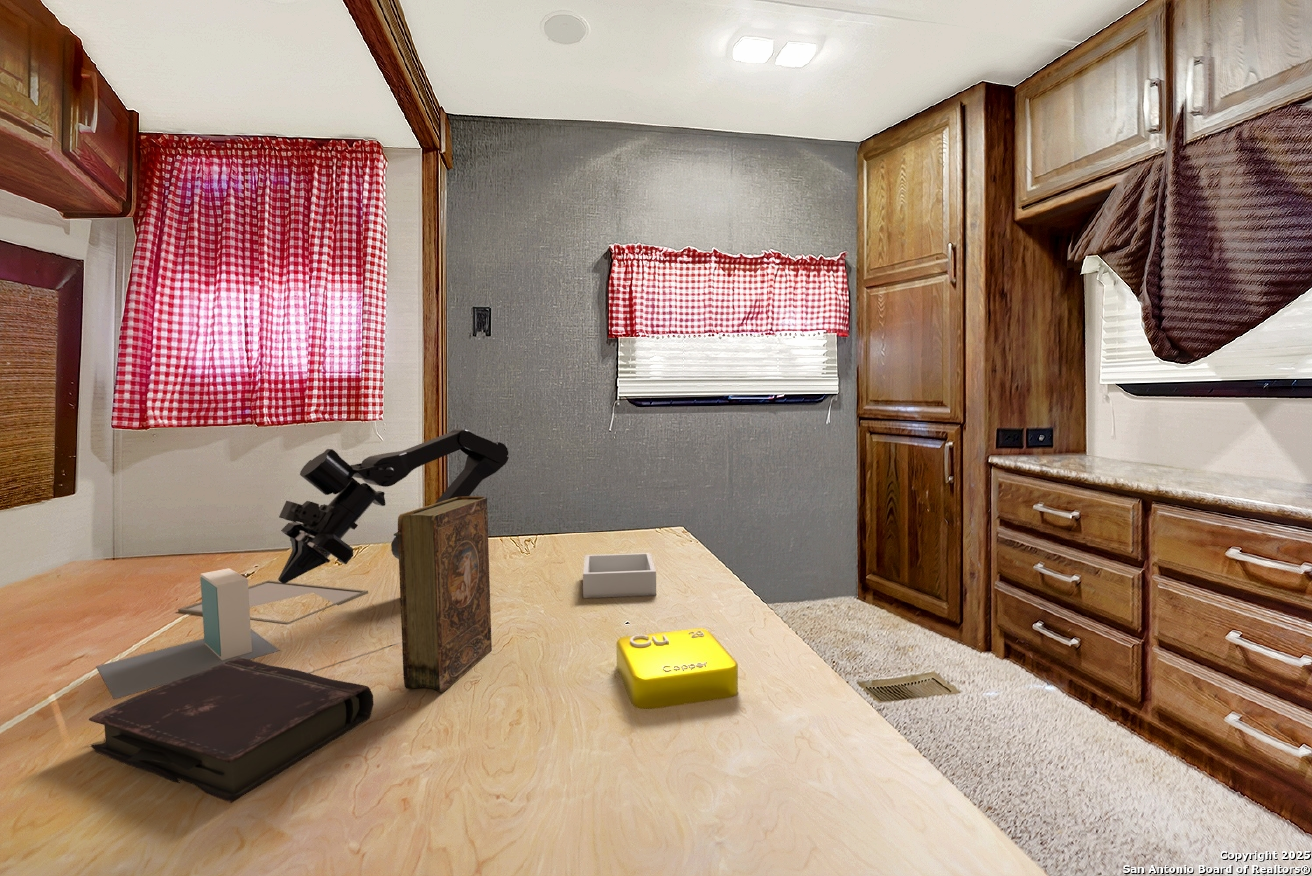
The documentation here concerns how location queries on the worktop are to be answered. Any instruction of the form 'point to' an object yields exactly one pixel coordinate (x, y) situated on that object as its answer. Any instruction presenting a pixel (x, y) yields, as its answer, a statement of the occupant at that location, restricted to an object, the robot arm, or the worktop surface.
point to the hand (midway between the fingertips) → (280, 582)
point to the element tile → (675, 668)
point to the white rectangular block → (226, 613)
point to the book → (444, 591)
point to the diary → (231, 725)
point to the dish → (619, 575)
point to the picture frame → (287, 596)
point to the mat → (169, 665)
